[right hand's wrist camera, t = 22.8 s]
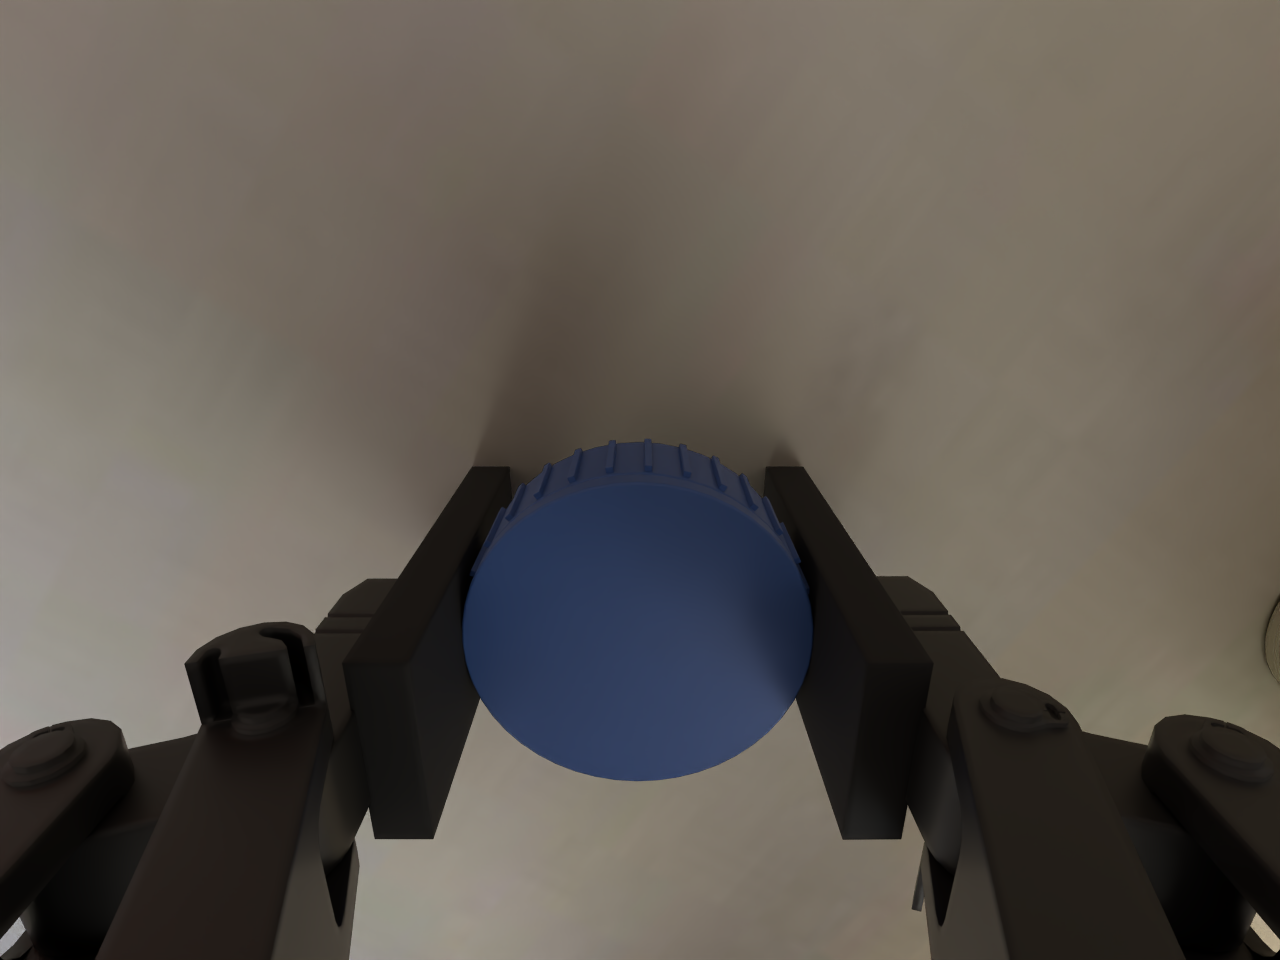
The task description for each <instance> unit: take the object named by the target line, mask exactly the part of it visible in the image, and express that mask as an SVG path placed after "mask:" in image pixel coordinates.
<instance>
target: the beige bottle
mask: <svg viewBox="0 0 1280 960" xmlns="http://www.w3.org/2000/svg"><path fill="white" fill-rule="evenodd" d="M1265 655H1266V659H1267V663H1268V666H1269V668H1270V670H1271V672H1272V674H1273V675H1274V677H1275V678H1276V679H1277V681H1278V682H1279V683H1280V600H1279V602H1278V604H1277V606H1276V608H1275V609H1274V611H1273V614H1272V616H1271V618H1270V621H1269V624H1268V628H1267V632H1266V638H1265Z"/></svg>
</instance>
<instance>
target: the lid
mask: <svg viewBox="0 0 1280 960" xmlns="http://www.w3.org/2000/svg"><path fill="white" fill-rule="evenodd" d="M800 562H801V560H800V558H799V556H798V554H797V552H796V549H795V547H794V545H793V543H792V541H791V538H790V536H789V534H788V532H787V530H786V527H785V525H784V523H783V522H782V523H779V521H778V519H777V517H776V514H775V512H774V510H773V508H772V505H771V503H770V501H769V499H768V498H767V497H766V496H765V497H763V498H761V497H760V496H759V495H758V493H757V492H756V491H755V490H754V489H753V488H752V487H751V486H750V484H749V481H748V479H747V477H746V476H745V475H744V474H743V473H742V474H741V475H740V476H738V475H737V474H736V473H734V472H733V471H731V470H730V469H728V468H727V467H725V466H724V465H722V464H720V461H719V458H718V457H716V456H712V458H711V459H710V458H708V457H706V456H704V455H702V454H699V453H696V452H693V451H690V450H687V447H686V445H683V444H680V445H679V447H675V446H670V445H665V444H658V443H651V439H645V440H644V443H643V442H634V443H617V444H616V440H612V441H609V445H606V446H601V447H596V448H592V449H589V450H586V451H582V449H581V448H579V449H577V450H575V452H574V455H572V456H570V457H568V458H566V459H564V460H562V461H559V462H557V463H556V464H554V465H553V466H552V465H551V464H550V463H548V464H546V465H545V466H544V468H543V471H542V473H540V474H539V475H538V476H537V477H535V478H534V479H533V480H532V481H531V482H529V483H528V484H527V485H525V484H524V483H522V484H521V485H520V486H519V487H518V489H517V492H516V494H515V496H514V498H513V500H512V502H511V503H510V505H509V506H508V508H507V509H505V508H503V507H502V508H501V509H500V511H499V513H498V515H497V517H496V519H495V521H494V523H493V525H492V527H491V529H490V532H489V534H488V535H487V538H486V540H485V542H484V544H483V546H482V548H481V550H480V552H479V554H478V556H477V559H476V561H475V563H474V565H473V567H472V569H471V572H470V574H469V575H470V576H472V577H473V579H472V582H471V584H470V587H469V590H468V593H467V597H466V600H465V604H464V611H463V618H462V640H463V649H464V655H465V661H466V665H467V668H468V671H469V674H470V677H471V680H472V682H473V684H474V686H475V688H476V690H477V692H478V694H479V696H480V698H481V700H482V701H483V703H484V704H485V706H486V707H487V709H488V710H489V711H490V713H491V714H492V716H493V717H494V718H495V719H496V720H497V721H498V722H499V723H500V724H501V726H502V727H503V728H504V729H505V730H506V731H507V732H508V733H510V734H511V735H512V736H513V737H514V738H515V739H517V740H518V741H519V742H520V743H521V744H523V745H524V746H526V747H527V748H529V749H530V750H532V751H533V752H535V753H536V754H538V755H540V756H542V757H544V758H546V759H548V760H549V761H551V762H553V763H555V764H558V765H560V766H563V767H565V768H568V769H571V770H573V771H576V772H580V773H584V774H587V775H591V776H595V777H601V778H607V779H613V780H626V781H651V780H663V779H669V778H676V777H681V776H685V775H689V774H693V773H697V772H700V771H703V770H705V769H708V768H711V767H714V766H716V765H719V764H721V763H723V762H725V761H727V760H729V759H731V758H733V757H735V756H737V755H738V754H740V753H741V752H743V751H744V750H746V749H747V748H749V747H750V746H752V745H753V744H755V743H756V742H757V741H758V740H759V739H761V738H762V737H763V736H764V735H765V734H767V733H768V732H769V731H770V730H771V729H772V728H773V727H774V726H775V724H776V723H777V722H778V721H779V720H780V719H781V718H782V717H783V715H784V714H785V713H786V711H787V710H788V708H789V707H790V706H791V704H792V703H793V701H794V700H795V698H796V696H797V694H798V692H799V690H800V688H801V686H802V684H803V681H804V679H805V676H806V673H807V670H808V667H809V664H810V659H811V653H812V648H813V633H814V624H813V616H812V607H811V603H810V600H809V596H808V594H809V592H810V588H809V585H808V583H807V581H806V579H805V576H804V574H803V572H802V570H801V568H800V566H799V563H800Z"/></svg>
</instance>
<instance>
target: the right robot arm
mask: <svg viewBox="0 0 1280 960" xmlns="http://www.w3.org/2000/svg"><path fill="white" fill-rule="evenodd" d="M765 496H766V497H767V498H768V499H769V501H770V503H771V505H772V508H773V510H774V512H775V514H776V517H777V519H778V521H779V523H782V522H783V523H784V525H785V527H786V530H787V532H788V534H789V536H790V538H791V541H792V543H793V545H794V547H795V549H796V552H797V554H798V556H799V558H800V560H801V562H800V563H799V566H800V568H801V570H802V572H803V574H804V576H805V579H806V581H807V583H808V585H809V588H810V592H809V594H808V596H809V600H810V603H811V607H812V616H813V624H814V633H813V648H812V653H811V659H810V664H809V667H808V670H807V673H806V676H805V679H804V681H803V684H802V686H801V688H800V690H799V692H798V694H797V696H796V701H797V704H798V707H799V710H800V713H801V716H802V719H803V722H804V725H805V728H806V731H807V734H808V737H809V740H810V743H811V746H812V749H813V752H814V755H815V758H816V761H817V764H818V767H819V770H820V773H821V776H822V779H823V782H824V785H825V788H826V791H827V794H828V797H829V800H830V803H831V806H832V809H833V812H834V815H835V818H836V821H837V824H838V827H839V830H840V833H841V836H842V839H843V840H862V839H901V838H902V832H903V827H904V822H905V816H906V811H907V805H908V806H909V809H910V811H911V813H912V815H913V817H914V819H915V822H916V824H917V826H918V828H919V830H920V832H921V835H922V837H923V839H924V841H925V842H924V847H923V852H922V857H921V862H920V867H919V871H918V876H917V881H916V886H915V891H914V897H913V904H912V909H913V910H917V911H921V910H922V905H923V900H924V899H925V908H926V917H927V925H928V934H929V943H930V951H931V960H1280V950H1279V951H1278V952H1277V953H1276V952H1274V951H1272V950H1271V949H1270V948H1269V947H1268V946H1267V945H1266V944H1265V943H1264V942H1263V941H1262V940H1261V939H1260V937H1259V936H1258V935H1257V934H1256V932H1255V931H1254V930H1253V929H1252V928H1251V926H1250V925H1251V923H1252V921H1253V918H1254V916H1255V914H1256V912H1257V913H1258V914H1259V916H1260V917H1261V918H1262V919H1263V920H1264V922H1265V923H1266V924H1267V925H1268V926H1269V927H1270V929H1271V930H1272V931H1273V932H1274V933H1275V934H1276V936H1277V937H1278V938H1279V939H1280V749H1279V748H1277V747H1276V746H1275V745H1273V744H1272V743H1270V742H1269V741H1267V740H1265V739H1263V738H1261V737H1259V736H1257V735H1255V734H1253V733H1251V732H1249V731H1247V730H1245V729H1244V728H1242V727H1239V726H1237V725H1234V724H1231V723H1228V722H1227V723H1225V722H1224V721H1221V720H1217V719H1213V718H1208V717H1200V716H1193V715H1185V714H1184V715H1177V716H1169V717H1165V718H1164V719H1162V720H1161V721H1160V722H1158V723H1157V724H1156V725H1155V726H1154V729H1153V732H1152V735H1151V738H1150V741H1149V744H1148V745H1143V744H1138V743H1133V742H1128V741H1124V740H1119V739H1114V738H1109V737H1104V736H1099V735H1094V734H1090V733H1086V732H1083V731H1082V730H1081V728H1080V726H1079V724H1078V722H1077V721H1076V720H1075V718H1074V717H1073V716H1072V714H1071V713H1070V712H1069V710H1068V709H1067V708H1066V707H1064V706H1063V705H1062V704H1060V703H1059V702H1058V701H1056V700H1055V699H1054V698H1052V697H1051V696H1050V695H1048V694H1046V693H1044V692H1042V691H1039V690H1037V689H1035V688H1033V687H1031V686H1029V685H1026V684H1022V683H1019V682H1015V681H1011V680H1007V679H1002V678H1000V677H999V675H998V674H997V673H996V672H995V670H994V669H993V668H992V666H991V665H990V664H989V663H988V661H987V660H986V659H985V658H984V656H983V655H982V654H981V653H980V651H979V650H978V649H977V647H976V646H975V645H974V644H973V642H972V641H971V640H970V639H969V637H968V636H967V635H966V633H965V632H964V631H961V630H960V626H959V625H958V623H957V622H956V621H955V620H954V618H953V617H952V616H951V615H948V611H947V609H946V608H945V607H944V606H943V604H942V603H941V602H940V601H939V599H938V598H937V597H936V595H935V594H934V593H933V592H932V591H930V590H929V589H927V588H925V587H924V586H922V585H921V584H919V583H918V582H916V581H914V580H913V579H911V578H910V577H908V576H875V574H874V572H873V571H872V569H871V568H870V566H869V565H868V563H867V562H866V560H865V559H864V557H863V556H862V554H861V553H860V551H859V550H858V548H857V547H856V545H855V544H854V542H853V541H852V539H851V538H850V536H849V535H848V533H847V532H846V530H845V529H844V527H843V526H842V524H841V523H840V521H839V520H838V518H837V517H836V515H835V514H834V512H833V511H832V509H831V508H830V506H829V505H828V503H827V502H826V500H825V499H824V497H823V496H822V494H821V493H820V491H819V490H818V488H817V487H816V485H815V484H814V482H813V481H812V479H811V478H810V476H809V475H808V473H807V472H806V470H805V469H804V467H766V474H765V488H764V497H765ZM511 502H512V495H511V482H510V468H509V467H472V468H471V469H470V471H469V472H468V474H467V475H466V477H465V478H464V480H463V481H462V483H461V484H460V486H459V487H458V489H457V490H456V492H455V493H454V495H453V496H452V498H451V499H450V501H449V502H448V504H447V505H446V507H445V508H444V510H443V511H442V513H441V514H440V516H439V517H438V519H437V520H436V522H435V523H434V525H433V526H432V528H431V529H430V531H429V533H428V534H427V536H426V537H425V539H424V540H423V542H422V543H421V545H420V546H419V548H418V549H417V551H416V552H415V554H414V555H413V557H412V558H411V560H410V561H409V563H408V564H407V566H406V567H405V569H404V570H403V572H402V573H401V575H400V576H399V578H398V579H366V580H365V581H363V582H362V583H360V584H359V585H357V586H356V587H354V588H352V589H351V590H349V591H348V592H346V593H345V594H343V595H342V596H341V598H340V599H339V600H338V601H337V603H336V604H335V605H334V607H333V608H332V609H331V610H330V612H329V613H328V617H325V618H324V619H323V621H322V622H321V623H320V624H319V626H318V627H317V628H316V632H315V633H312V632H311V631H310V630H309V629H307V628H306V627H305V626H303V625H299V624H294V623H290V622H267V623H260V624H256V625H251V626H247V627H242V628H239V629H236V630H234V631H231V632H229V633H226V634H224V635H221V636H219V637H216V638H215V639H213V640H212V641H210V642H208V643H207V644H205V645H204V646H202V647H201V648H199V649H197V650H196V651H195V652H194V654H193V655H192V656H191V657H190V658H189V659H188V660H187V661H186V663H185V668H186V671H187V675H188V678H189V682H190V685H191V689H192V692H193V696H194V699H195V703H196V706H197V710H198V713H199V717H200V720H201V724H202V725H201V727H200V729H199V732H198V734H194V735H191V736H187V737H183V738H179V739H174V740H169V741H164V742H160V743H155V744H150V745H145V746H141V747H136V748H131V749H128V748H127V745H126V742H125V739H124V736H123V733H122V730H121V729H120V728H119V727H118V726H116V725H115V724H114V723H113V722H111V721H108V720H100V719H93V718H90V719H82V720H75V721H68V722H63V723H59V724H55V725H52V726H51V727H49V726H48V727H45V728H42V729H39V730H37V731H34V732H32V733H31V734H29V735H27V736H25V737H23V738H21V739H19V740H17V741H15V742H13V743H11V744H9V745H7V746H6V747H4V748H3V749H1V750H0V939H1V938H2V937H3V936H4V934H5V933H6V932H7V931H8V930H9V928H10V927H11V926H12V925H13V924H14V923H15V921H16V920H17V919H18V918H19V917H20V918H21V921H22V923H23V925H24V927H25V929H26V930H25V932H24V933H23V934H22V935H21V937H20V938H19V939H18V940H17V941H16V943H15V944H14V945H13V946H12V947H11V948H10V949H8V950H7V951H6V952H5V953H4V954H3V955H2V956H1V957H0V960H349V953H350V945H351V936H352V927H353V918H354V910H355V901H356V892H357V883H358V875H359V859H358V852H357V847H356V842H355V836H356V834H357V831H358V829H359V827H360V825H361V823H362V820H363V818H364V816H365V814H366V812H367V810H368V807H369V811H370V816H371V821H372V827H373V832H374V837H375V839H433V838H434V835H435V832H436V829H437V826H438V823H439V820H440V817H441V814H442V811H443V808H444V805H445V802H446V799H447V796H448V793H449V790H450V787H451V784H452V781H453V778H454V775H455V772H456V769H457V766H458V763H459V760H460V757H461V754H462V751H463V748H464V745H465V742H466V739H467V736H468V733H469V730H470V727H471V724H472V721H473V718H474V715H475V712H476V709H477V706H478V703H479V700H480V696H479V694H478V692H477V690H476V688H475V686H474V684H473V682H472V680H471V677H470V674H469V671H468V668H467V665H466V661H465V655H464V649H463V640H462V618H463V611H464V604H465V600H466V597H467V593H468V590H469V587H470V584H471V582H472V579H473V577H472V576H470V575H469V574H470V572H471V569H472V567H473V565H474V563H475V561H476V559H477V556H478V554H479V552H480V550H481V548H482V546H483V544H484V542H485V540H486V538H487V535H488V534H489V532H490V529H491V527H492V525H493V523H494V521H495V519H496V517H497V515H498V513H499V511H500V509H501V508H502V507H503V508H505V509H507V508H508V506H509V505H510V503H511Z"/></svg>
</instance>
